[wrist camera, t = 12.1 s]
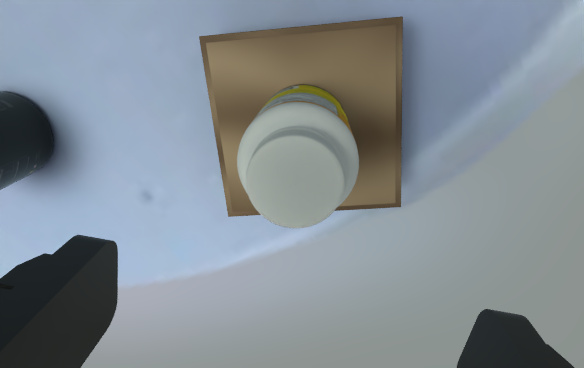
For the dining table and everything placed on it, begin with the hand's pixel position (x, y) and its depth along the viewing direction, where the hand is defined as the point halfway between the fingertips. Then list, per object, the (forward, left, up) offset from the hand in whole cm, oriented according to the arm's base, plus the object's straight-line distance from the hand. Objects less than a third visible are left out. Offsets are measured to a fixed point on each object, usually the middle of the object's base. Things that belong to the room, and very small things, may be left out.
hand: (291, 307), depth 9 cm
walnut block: (0, 0, -23) cm, 23 cm away
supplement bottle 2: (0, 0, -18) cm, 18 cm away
